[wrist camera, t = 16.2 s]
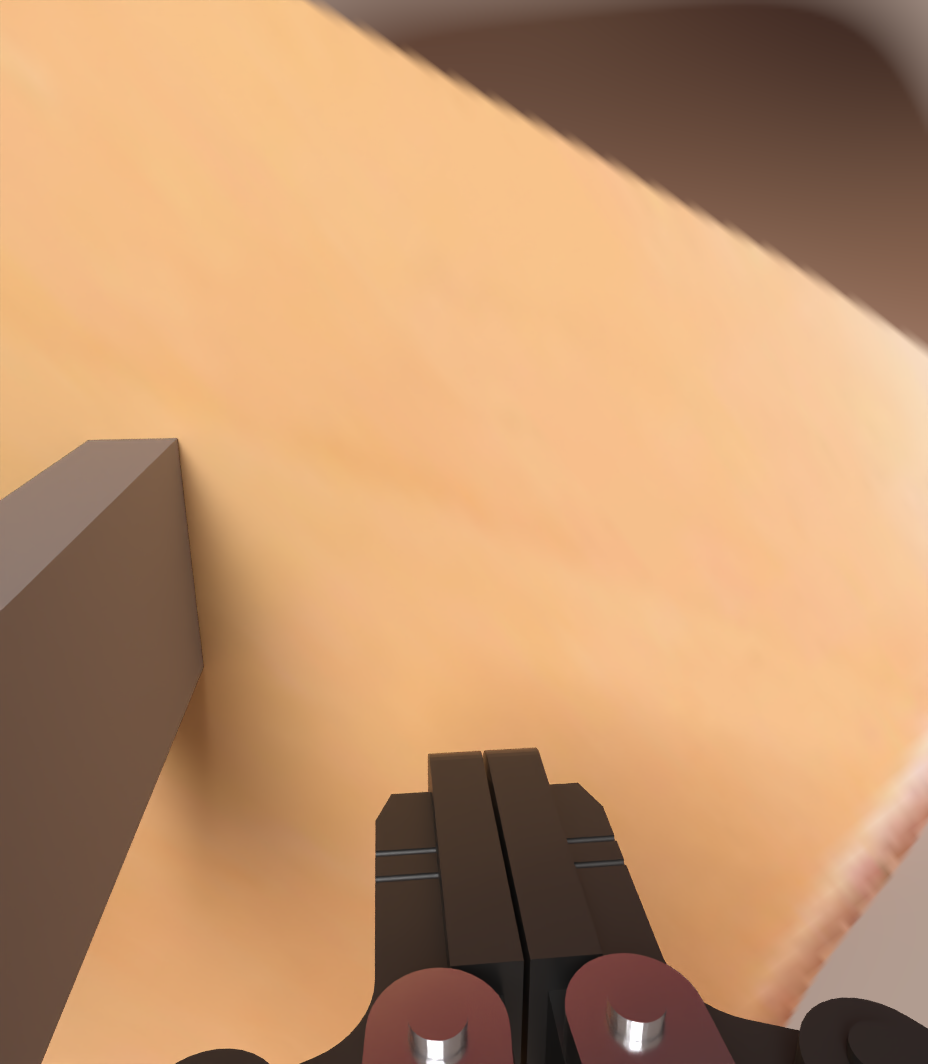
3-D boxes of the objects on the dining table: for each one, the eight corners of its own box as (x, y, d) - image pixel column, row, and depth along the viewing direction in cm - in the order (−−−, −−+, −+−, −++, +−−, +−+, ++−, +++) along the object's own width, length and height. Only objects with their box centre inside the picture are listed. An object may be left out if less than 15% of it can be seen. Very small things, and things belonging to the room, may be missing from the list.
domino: (176, 438, 19) (-102, 711, 8) (203, 667, 21) (8, 1142, 10) (88, 439, 19) (-323, 721, 8) (123, 671, 21) (-166, 1158, 10)
